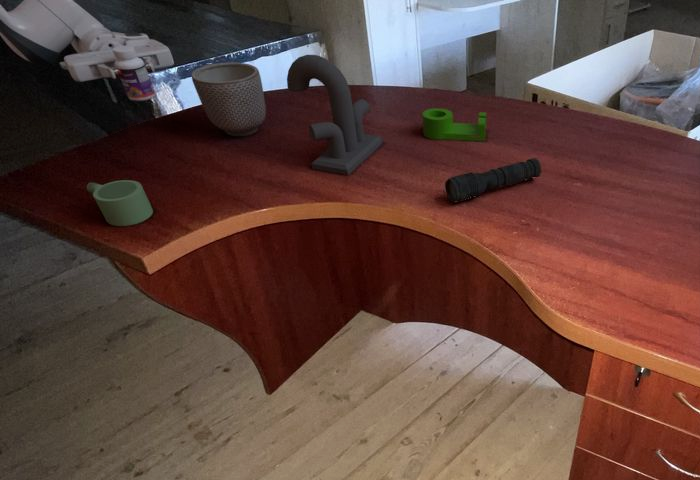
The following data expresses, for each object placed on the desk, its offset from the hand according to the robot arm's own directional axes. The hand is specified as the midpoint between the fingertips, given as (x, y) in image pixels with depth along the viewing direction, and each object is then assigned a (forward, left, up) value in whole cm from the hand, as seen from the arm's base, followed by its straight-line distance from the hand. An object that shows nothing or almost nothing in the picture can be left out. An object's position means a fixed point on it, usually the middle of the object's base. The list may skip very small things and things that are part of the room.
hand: (133, 71), depth 113 cm
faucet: (+37, -19, -14) cm, 44 cm away
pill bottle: (0, +1, -6) cm, 6 cm away
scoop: (-4, -34, -14) cm, 37 cm away
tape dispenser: (+66, -16, -14) cm, 69 cm away
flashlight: (+66, -45, -14) cm, 81 cm away
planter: (+18, -2, -14) cm, 23 cm away
